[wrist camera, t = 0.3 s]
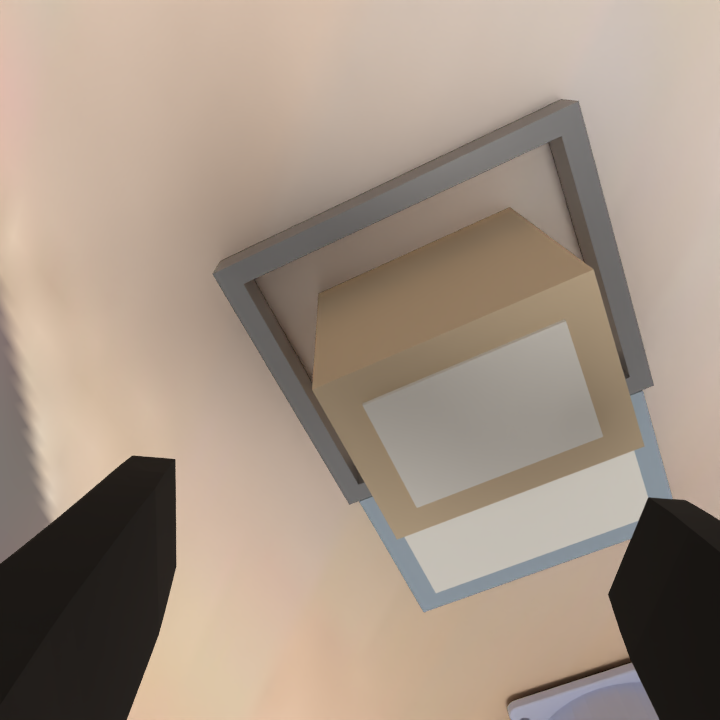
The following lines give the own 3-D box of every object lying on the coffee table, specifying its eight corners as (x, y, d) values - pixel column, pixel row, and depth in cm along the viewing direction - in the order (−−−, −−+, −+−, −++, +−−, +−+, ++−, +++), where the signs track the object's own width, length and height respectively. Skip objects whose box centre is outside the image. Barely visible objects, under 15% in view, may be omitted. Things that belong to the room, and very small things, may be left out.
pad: (673, 514, 22) (679, 522, 21) (422, 603, 23) (423, 613, 23) (637, 385, 19) (643, 391, 19) (358, 494, 21) (359, 503, 20)
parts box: (553, 338, 19) (646, 449, 13) (379, 410, 19) (397, 542, 14) (509, 206, 17) (595, 270, 11) (318, 293, 18) (312, 391, 12)
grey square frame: (635, 367, 19) (653, 385, 18) (348, 481, 20) (349, 504, 19) (561, 99, 15) (578, 101, 14) (220, 261, 17) (212, 273, 16)
